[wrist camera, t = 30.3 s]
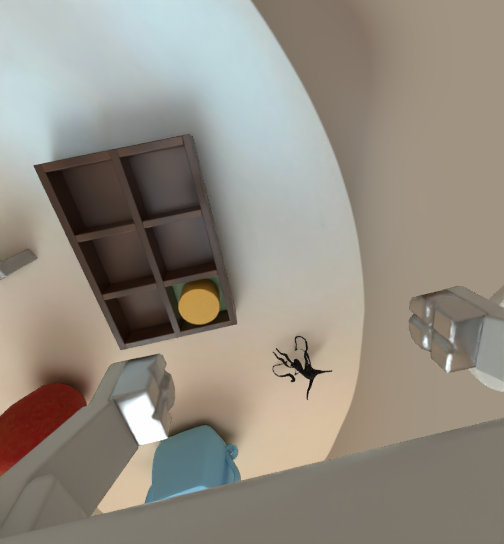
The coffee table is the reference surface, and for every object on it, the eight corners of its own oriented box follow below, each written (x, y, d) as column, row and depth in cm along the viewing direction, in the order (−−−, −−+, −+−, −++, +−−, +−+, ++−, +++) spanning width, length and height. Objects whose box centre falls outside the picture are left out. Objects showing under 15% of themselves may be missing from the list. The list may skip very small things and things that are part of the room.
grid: (192, 136, 30) (189, 133, 27) (235, 310, 39) (237, 324, 36) (52, 164, 30) (32, 165, 27) (128, 334, 39) (120, 350, 36)
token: (214, 273, 36) (214, 284, 33) (223, 306, 38) (223, 319, 35) (176, 282, 36) (173, 293, 33) (187, 314, 38) (184, 328, 35)
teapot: (125, 445, 47) (98, 529, 37) (223, 409, 46) (224, 483, 36) (160, 485, 52) (146, 568, 42) (249, 452, 51) (257, 529, 41)
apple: (116, 397, 43) (74, 499, 30) (67, 427, 44) (6, 537, 31) (64, 354, 39) (-11, 450, 26) (11, 389, 40) (-85, 496, 28)
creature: (261, 361, 45) (302, 386, 46) (259, 383, 40) (305, 410, 40) (288, 325, 43) (330, 351, 43) (290, 343, 38) (338, 372, 38)
